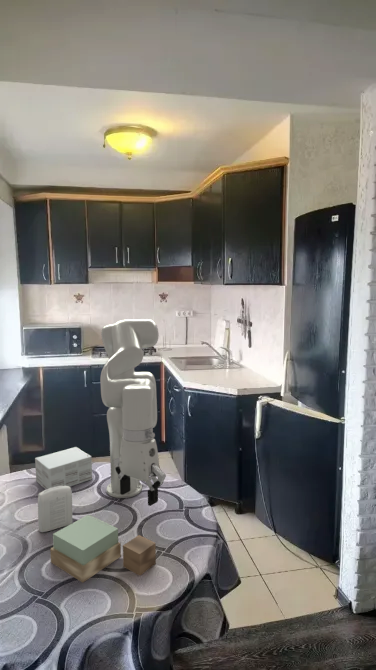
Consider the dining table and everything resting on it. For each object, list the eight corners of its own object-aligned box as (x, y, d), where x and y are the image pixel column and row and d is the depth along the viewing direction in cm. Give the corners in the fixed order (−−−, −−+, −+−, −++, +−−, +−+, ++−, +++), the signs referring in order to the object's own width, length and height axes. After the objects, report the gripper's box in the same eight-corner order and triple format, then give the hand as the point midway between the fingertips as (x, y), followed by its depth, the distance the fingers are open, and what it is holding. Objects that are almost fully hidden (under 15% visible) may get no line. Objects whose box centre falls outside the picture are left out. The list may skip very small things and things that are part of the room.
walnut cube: (139, 555, 118) (138, 534, 117) (155, 564, 114) (155, 542, 114) (123, 566, 113) (122, 545, 112) (139, 576, 109) (139, 554, 109)
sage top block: (88, 527, 124) (88, 514, 124) (118, 542, 117) (118, 528, 117) (53, 548, 115) (52, 533, 114) (83, 565, 107) (83, 550, 107)
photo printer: (70, 518, 136) (69, 480, 135) (74, 524, 133) (73, 486, 131) (36, 528, 131) (35, 489, 129) (40, 534, 127) (39, 495, 126)
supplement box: (76, 468, 173) (76, 446, 172) (92, 479, 163) (92, 456, 162) (35, 481, 162) (34, 457, 161) (49, 493, 152) (48, 468, 151)
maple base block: (89, 541, 125) (88, 526, 125) (120, 558, 117) (120, 543, 117) (50, 564, 115) (50, 548, 114) (82, 585, 107) (82, 568, 106)
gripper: (173, 436, 107) (174, 502, 109) (124, 423, 117) (125, 483, 119) (153, 444, 101) (154, 514, 103) (103, 430, 111) (104, 494, 113)
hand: (138, 498), depth 111 cm, fingers open, 9 cm apart
